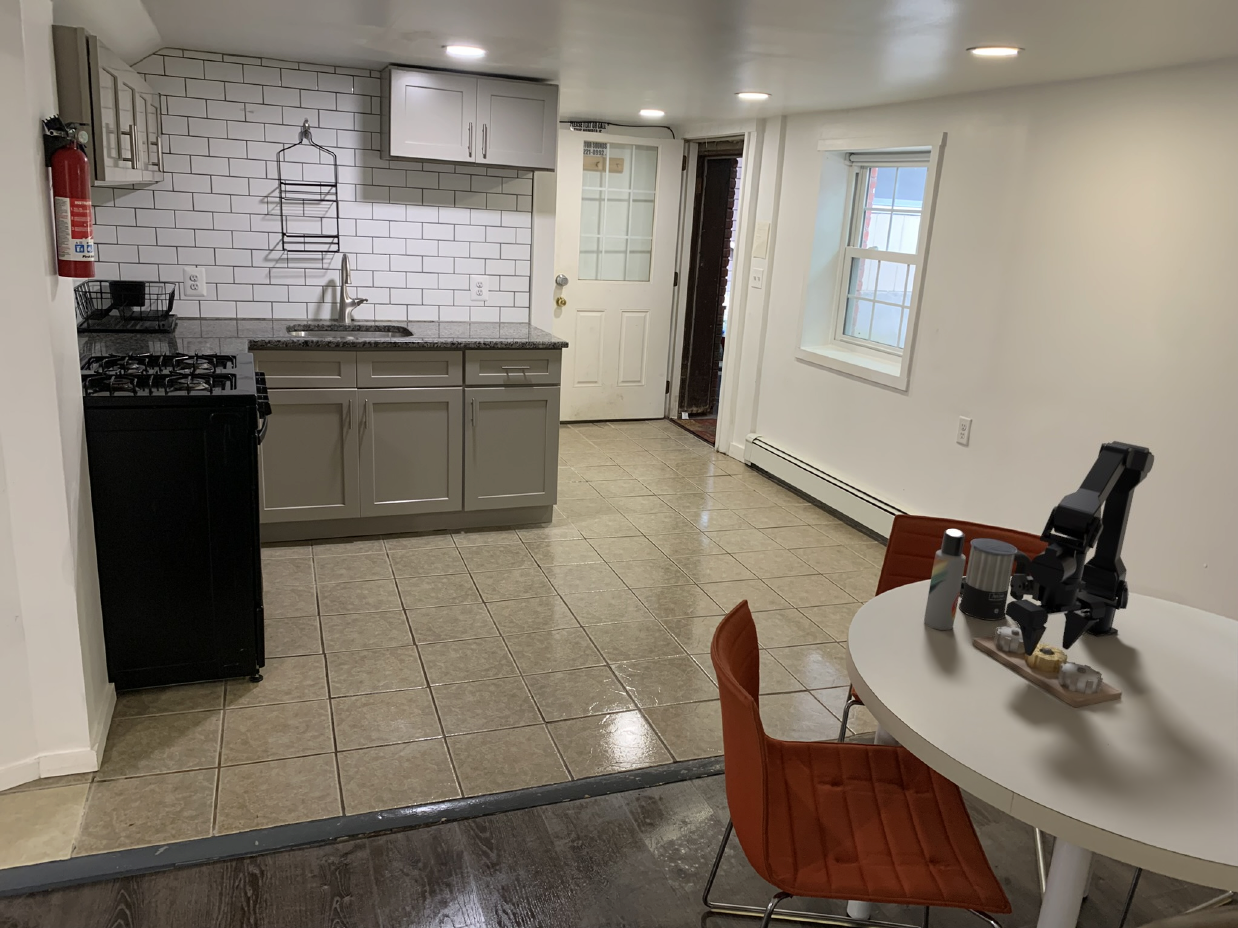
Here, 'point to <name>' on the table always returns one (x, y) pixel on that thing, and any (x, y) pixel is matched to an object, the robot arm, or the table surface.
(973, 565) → the milk frother
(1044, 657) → the brass gear
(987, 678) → the table surface
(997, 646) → the gear board
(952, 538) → the lotion bottle
